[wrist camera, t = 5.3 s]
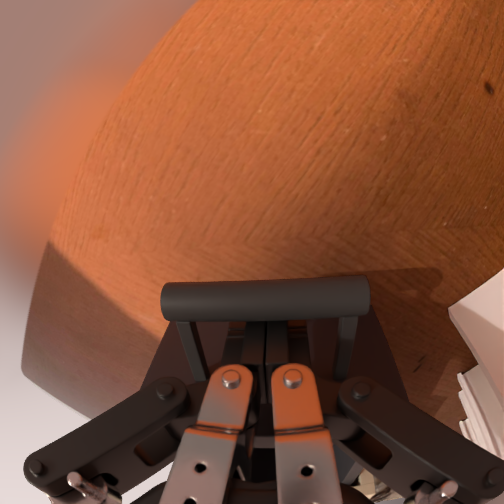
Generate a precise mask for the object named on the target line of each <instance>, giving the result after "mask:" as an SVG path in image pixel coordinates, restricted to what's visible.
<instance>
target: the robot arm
mask: <svg viewBox="0 0 504 504" xmlns="http://www.w3.org/2000/svg"><path fill="white" fill-rule="evenodd" d="M226 337H227V338H226V341H225V346H224V350H223V355H222V360H221V365H220V368H218V369H217V370H215V371H214V372H213V374H212V376H211V378H210V379H208V380H205V381H203V382H199V383H194V384H188V385H185V383H184V382H183V381H182V380H181V379H179V378H176V377H172V376H167V377H161V378H159V379H157V380H155V381H153V382H152V383H150V384H149V385H147V386H146V387H144V388H143V389H141V390H139V391H138V392H136V393H135V394H133V395H132V396H130V397H128V398H127V399H125V400H124V401H122V402H120V403H119V404H117V405H116V406H114V407H112V408H111V409H109V410H107V411H106V412H104V413H102V414H101V415H99V416H97V417H96V418H94V419H92V420H91V421H89V422H88V423H86V424H84V425H82V426H81V427H79V428H77V429H75V430H74V431H72V432H70V433H68V434H67V435H65V436H63V437H61V438H60V439H58V440H56V441H54V442H52V443H50V444H49V445H47V446H45V447H43V448H41V449H39V450H38V451H36V452H34V453H32V454H31V455H29V456H28V457H27V459H26V460H25V462H24V468H23V470H24V475H25V478H26V479H27V481H28V482H29V483H30V484H32V485H33V486H35V487H36V488H38V489H40V490H41V491H43V492H44V493H45V494H46V495H47V496H48V497H49V499H50V501H51V503H52V504H122V496H121V495H122V494H124V493H125V492H127V491H128V490H130V489H132V488H134V487H135V486H137V485H138V484H140V483H141V482H143V481H145V480H146V479H148V478H149V477H151V476H152V475H154V474H155V473H157V472H158V471H160V470H161V469H162V468H164V467H165V466H167V465H168V464H170V463H171V462H173V461H174V462H173V465H172V468H171V471H170V474H169V476H168V479H167V481H165V482H163V483H160V484H159V485H157V486H155V487H153V488H152V489H151V490H149V491H148V492H146V493H145V494H143V495H142V496H141V497H139V498H138V499H136V500H135V501H133V502H132V503H130V504H374V503H373V502H372V501H371V500H370V499H369V498H368V497H366V496H365V495H364V494H363V493H361V492H360V491H358V490H357V489H355V488H354V487H351V486H349V485H347V484H344V483H341V482H339V476H338V471H337V465H336V460H335V454H334V449H333V444H332V442H333V443H334V444H335V445H336V446H337V447H339V448H340V449H341V450H342V451H343V452H345V453H346V454H347V455H348V456H349V457H351V458H352V459H353V460H354V461H356V462H357V463H358V464H359V465H361V466H362V467H363V468H364V469H366V470H367V471H368V472H370V473H371V474H372V475H374V476H375V477H376V478H377V479H379V480H380V481H381V482H383V483H384V484H385V485H387V486H388V487H390V488H391V489H392V490H394V491H395V492H397V493H398V494H399V495H401V496H402V497H404V498H405V501H404V504H485V503H487V502H488V501H490V500H492V499H494V498H495V497H497V496H499V495H500V494H501V493H502V492H503V491H504V460H502V459H501V458H499V457H497V456H496V455H494V454H492V453H490V452H489V451H487V450H485V449H484V448H482V447H480V446H479V445H477V444H475V443H474V442H472V441H470V440H469V439H467V438H465V437H464V436H462V435H460V434H459V433H457V432H455V431H454V430H452V429H451V428H449V427H447V426H446V425H444V424H443V423H441V422H439V421H438V420H436V419H435V418H433V417H432V416H430V415H428V414H427V413H425V412H424V411H422V410H421V409H419V408H418V407H416V406H415V405H413V404H411V403H410V402H408V401H407V400H405V399H404V398H402V397H401V396H399V395H398V394H396V393H395V392H393V391H392V390H390V389H389V388H387V387H386V386H384V385H383V384H381V383H380V382H378V381H377V380H375V379H374V378H372V377H370V376H366V375H355V376H351V377H349V378H347V379H346V380H344V381H343V383H341V382H335V381H330V380H326V379H324V378H322V377H320V376H319V375H317V374H316V373H315V372H314V370H313V368H312V365H311V358H310V349H309V340H308V332H307V324H306V320H285V321H250V322H229V327H228V331H227V336H226ZM267 390H268V401H269V404H272V407H273V423H274V440H275V458H276V475H277V479H275V480H270V481H265V482H260V483H252V482H251V473H252V459H253V453H254V448H255V442H256V436H257V430H258V424H259V416H260V404H267Z"/></svg>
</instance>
